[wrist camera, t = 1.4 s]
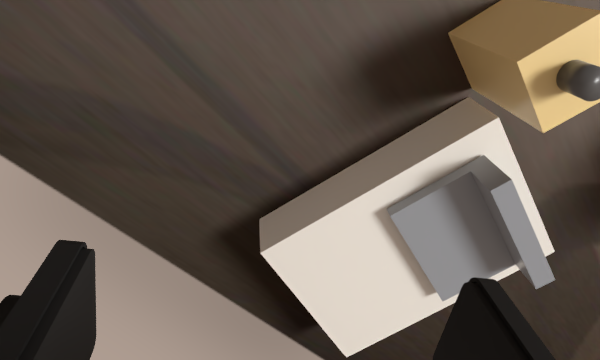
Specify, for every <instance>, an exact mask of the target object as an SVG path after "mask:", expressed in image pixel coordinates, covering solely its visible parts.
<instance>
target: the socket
mask: <svg viewBox="0 0 600 360" xmlns="http://www.w3.org/2000/svg"><path fill="white" fill-rule="evenodd" d="M483 155H485V156H486V157H487V158H488V159H489V160H490V161H491V162H493V163H494V164H495V165H496V166H497V167H498V168H499V169H500V170H502V171H503V172H504V173H505V174H506V175H507V176H508V177H510V178H511V179H512V181H513V183H514V186H515V188H516V190H517V193H518V195H519V197H520V200H521V202H522V204H523V207H524V209H525V211H526V214H527V216H528V218H529V220H530V223H531V225H532V227H533V230H534V232H535V234H536V237H537V239H538V241H539V244H540V246H541V248H542V250H543V253H544V255H545V256H547V255H549V254H551V253H553V252H555V251H554V249H553V246H552V244H551V242H550V239H549V237H548V235H547V232H546V230H545V227H544V225H543V223H542V220H541V218H540V215H539V213H538V211H537V208H536V206H535V203H534V201H533V199H532V196H531V194H530V191H529V189H528V187H527V184H526V182H525V179H524V177H523V175H522V172H521V170H520V167H519V165H518V163H517V160H516V158H515V155H514V153H513V151H512V148H511V146H510V143H509V141H508V139H507V136H506V134H505V131H504V129H503V127H502V124H501V122H500V119H499V117H497V116H496V115H494V114H493V113H492V112H490V111H489V110H487V109H486V108H484V107H483V106H481V105H480V104H478V103H477V102H475V101H474V100H472V99H471V98H469V97H468V98H466V99H464V100H462V101H461V102H459V103H457V104H456V105H454V106H452V107H450V108H449V109H447V110H445V111H444V112H442V113H440V114H439V115H437V116H435V117H433V118H432V119H430V120H428V121H427V122H425V123H423V124H421V125H420V126H418V127H416V128H415V129H413V130H411V131H409V132H408V133H406V134H404V135H403V136H401V137H399V138H397V139H396V140H394V141H392V142H391V143H389V144H387V145H385V146H384V147H382V148H380V149H379V150H377V151H375V152H373V153H372V154H370V155H368V156H367V157H365V158H363V159H361V160H360V161H358V162H356V163H355V164H353V165H351V166H349V167H348V168H346V169H344V170H343V171H341V172H339V173H338V174H336V175H334V176H332V177H331V178H329V179H327V180H326V181H324V182H322V183H320V184H319V185H317V186H315V187H314V188H312V189H310V190H308V191H307V192H305V193H303V194H302V195H300V196H298V197H296V198H295V199H293V200H291V201H290V202H288V203H286V204H284V205H283V206H281V207H279V208H278V209H276V210H274V211H272V212H271V213H269V214H267V215H266V216H264V217H262V218H260V219H259V227H260V253H261V255H262V256H263V257H264V258H265V259H266V261H267V262H268V263H269V264H270V265H271V267H272V268H273V269H274V270H275V272H276V273H277V274H278V275H279V276H280V278H281V279H282V280H283V281H284V282H285V284H286V285H287V286H288V287H289V288H290V290H291V291H292V292H293V293H294V295H295V296H296V297H297V298H298V299H299V301H300V302H301V303H302V304H303V305H304V307H305V308H306V309H307V310H308V311H309V313H310V314H311V315H312V316H313V318H314V319H315V320H316V321H317V322H318V324H319V325H320V326H321V327H322V328H323V330H324V331H325V332H326V333H327V334H328V336H329V337H330V338H331V339H332V341H333V342H334V343H335V344H336V345H337V347H338V348H339V349H340V350H341V351H342V353H343V354H344V355H345V356H346V357H348V356H350V355H352V354H354V353H356V352H358V351H360V350H362V349H364V348H366V347H368V346H370V345H372V344H374V343H376V342H378V341H380V340H382V339H384V338H386V337H388V336H390V335H392V334H394V333H396V332H398V331H400V330H402V329H404V328H406V327H407V326H409V325H411V324H413V323H415V322H417V321H419V320H421V319H423V318H425V317H427V316H429V315H431V314H433V313H435V312H437V311H439V310H441V309H443V308H445V307H447V306H449V305H451V304H453V303H455V302H456V300H457V297H458V295H459V294H457V295H455V296H453V297H451V298H449V299H447V300H445V301H443V302H442V300H441V298H440V297H439V295H438V293H437V292H436V290H435V289H434V287H433V285H432V284H431V282H430V280H429V279H428V277H427V275H426V274H425V272H424V271H423V269H422V267H421V266H420V264H419V262H418V261H417V259H416V258H415V256H414V254H413V253H412V251H411V249H410V248H409V246H408V245H407V243H406V241H405V240H404V238H403V236H402V235H401V233H400V232H399V230H398V228H397V227H396V225H395V223H394V222H393V220H392V219H391V217H390V215H389V213H388V211H387V209H388V208H389V207H391V206H393V205H395V204H397V203H398V202H400V201H402V200H404V199H406V198H407V197H409V196H411V195H413V194H414V193H416V192H418V191H420V190H422V189H423V188H425V187H427V186H429V185H431V184H432V183H434V182H436V181H438V180H440V179H441V178H443V177H445V176H447V175H448V174H450V173H452V172H454V171H456V170H457V169H459V168H461V167H463V166H465V165H466V164H468V163H470V162H472V161H474V160H475V159H477V158H479V157H481V156H483ZM518 270H520V269H519V268H518V267H517V266H516V265H514V266H512V267H510V268H508V269H506V270H504V271H502V272H500V273H498V274H496V275H494V276H492V277H490V278H488V279H494V280H496V281H498V280H500V279H502V278H504V277H506V276H508V275H510V274H512V273H514V272H516V271H518Z"/></svg>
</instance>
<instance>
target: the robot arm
mask: <svg viewBox="0 0 600 360" xmlns="http://www.w3.org/2000/svg"><path fill="white" fill-rule="evenodd" d="M95 292H96V291H95V251H94V249H87V245H86V243H85V242H77V241H66V240H59V241H57V243H56V244H55V245H54V247H53V248H52V250H51V251H50V253H49V254H48V256H47V257H46V259H45V261H44V262H43V263H42V265H41V266H40V268H39V269H38V271H37V272H36V274H35V276H34V277H33V278H32V280H31V282H30V283H29V285H28V286H27V287H26V289H25V290H24V292H23V294H22V295H21V296H18V295H9V296H7V297H5V298H4V299H3V300H2V302H1V303H0V360H90V357H91V354H92V352H93V349H94V345H95V341H96V295H95V294H96V293H95ZM433 360H555V358H554V357H553V356H552V354H551V353H550V352H549V350H548V349H547V348H546V346H545V345H544V344H543V342H542V341H541V340H540V338H539V337H538V336H537V334H536V333H535V331H534V330H533V329H532V327H531V326H530V325H529V323H528V322H527V321H526V319H525V318H524V317H523V315H522V314H521V313H520V311H519V310H518V309H517V307H516V306H515V305H514V303H513V302H512V301H511V299H510V298H509V297H508V295H507V294H506V293H505V291H504V290H503V288H502V287H501V286H500V284H499V283H498V282H497V281H496V280H494V279H487V278H476V277H474V278H471V279H470V280H469V281H468V282H466V283H464V284H463V286H462V288H461V290H460V293H459V295H458V297H457V300H456V302H455V305H454V307H453V309H452V312H451V314H450V317H449V319H448V321H447V324H446V326H445V329H444V331H443V333H442V336H441V338H440V341H439V343H438V345H437V348H436V350H435V353H434V356H433Z"/></svg>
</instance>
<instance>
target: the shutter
mask: <svg viewBox="0 0 600 360" xmlns="http://www.w3.org/2000/svg"><path fill="white" fill-rule="evenodd" d="M387 211H388V213H389V215H390V217H391V219H392V220H393V222H394V223H395V225H396V227H397V228H398V230H399V232H400V233H401V235H402V236H403V238H404V240H405V241H406V243H407V245H408V246H409V248H410V249H411V251H412V253H413V254H414V256H415V258H416V259H417V261H418V262H419V264H420V266H421V267H422V269H423V271H424V272H425V274H426V275H427V277H428V279H429V280H430V282H431V284H432V285H433V287H434V289H435V290H436V292H437V293H438V295H439V297H440V298H441V300H442V302H443V301H445V300H447V299H449V298H451V297H453V296H455V295H457V294H459V293H460V290H461V288H462V286H463V284H464V283H466V282H468V281H469V280H470V279H471V278H474V277H476V278H487V279H488V278H490V277H492V276H494V275H496V274H498V273H500V272H502V271H504V270H506V269H508V268H510V267H512V266H514V265H516V266H517V267H518V268H519V269H520V270H521V272H522V273H523V274H524V275H525V276H526V278H527V279H528V280H529V281H530V282H531V284H532V285H533V286H534V287H535V288H536V289H538V288H540V287H542V286H544V285H546V284H548V283H550V282H552V281H554V280H555V278H554V276H553V274H552V271H551V269H550V267H549V264H548V262H547V260H546V257H545V255H544V253H543V250H542V248H541V246H540V244H539V241H538V239H537V237H536V234H535V232H534V230H533V227H532V225H531V223H530V220H529V218H528V216H527V214H526V211H525V209H524V207H523V204H522V202H521V200H520V197H519V195H518V193H517V190H516V188H515V186H514V183H513V181H512V179H511V178H510V177H508V176H507V175H506V174H505V173H504V172H503V171H502V170H500V169H499V168H498V167H497V166H496V165H495V164H494V163H493V162H491V161H490V160H489V159H488V158H487V157H486V156H485V155H483V156H481V157H479V158H477V159H475V160H474V161H472V162H470V163H468V164H466V165H465V166H463V167H461V168H459V169H457V170H456V171H454V172H452V173H450V174H448V175H447V176H445V177H443V178H441V179H440V180H438V181H436V182H434V183H432V184H431V185H429V186H427V187H425V188H423V189H422V190H420V191H418V192H416V193H414V194H413V195H411V196H409V197H407V198H406V199H404V200H402V201H400V202H398V203H397V204H395V205H393V206H391V207H389V208H388V209H387Z"/></svg>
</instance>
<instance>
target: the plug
mask: <svg viewBox="0 0 600 360" xmlns="http://www.w3.org/2000/svg"><path fill="white" fill-rule="evenodd" d="M448 35H449V37H450V39H451V42H452V44H453V46H454V48H455V51H456V53H457V55H458V58H459V60H460V62H461V65H462V67H463V69H464V72H465V74H466V76H467V78H468V81H469V83H470V85H471V88H472V89H474V90H475V91H477V92H478V93H480V94H482V95H483V96H485V97H486V98H488V99H490V100H491V101H493V102H494V103H496V104H498V105H499V106H501V107H502V108H504V109H506V110H507V111H509V112H510V113H512V114H514V115H515V116H517V117H518V118H520V119H522V120H523V121H525V122H526V123H528V124H530V125H531V126H533V127H534V128H536V129H538V130H539V131H541V132H542V133H545V132H546V131H548V130H550V129H552V128H554V127H555V126H557V125H559V124H561V123H563V122H564V121H566V120H568V119H570V118H572V117H573V116H575V115H577V114H579V113H581V112H582V111H584V110H586V109H588V108H590V107H591V106H593V105H595V104H597V103H599V102H600V11H599V10H593V9H587V8H582V7H576V6H570V5H564V4H559V3H553V2H547V1H541V0H501V1H499V2H497V3H496V4H494V5H492V6H491V7H489V8H488V9H486V10H484V11H483V12H481V13H479V14H478V15H476V16H475V17H473V18H471V19H470V20H468V21H466V22H465V23H463V24H462V25H460V26H458V27H457V28H455V29H453V30H452V31H450V32H448Z"/></svg>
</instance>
